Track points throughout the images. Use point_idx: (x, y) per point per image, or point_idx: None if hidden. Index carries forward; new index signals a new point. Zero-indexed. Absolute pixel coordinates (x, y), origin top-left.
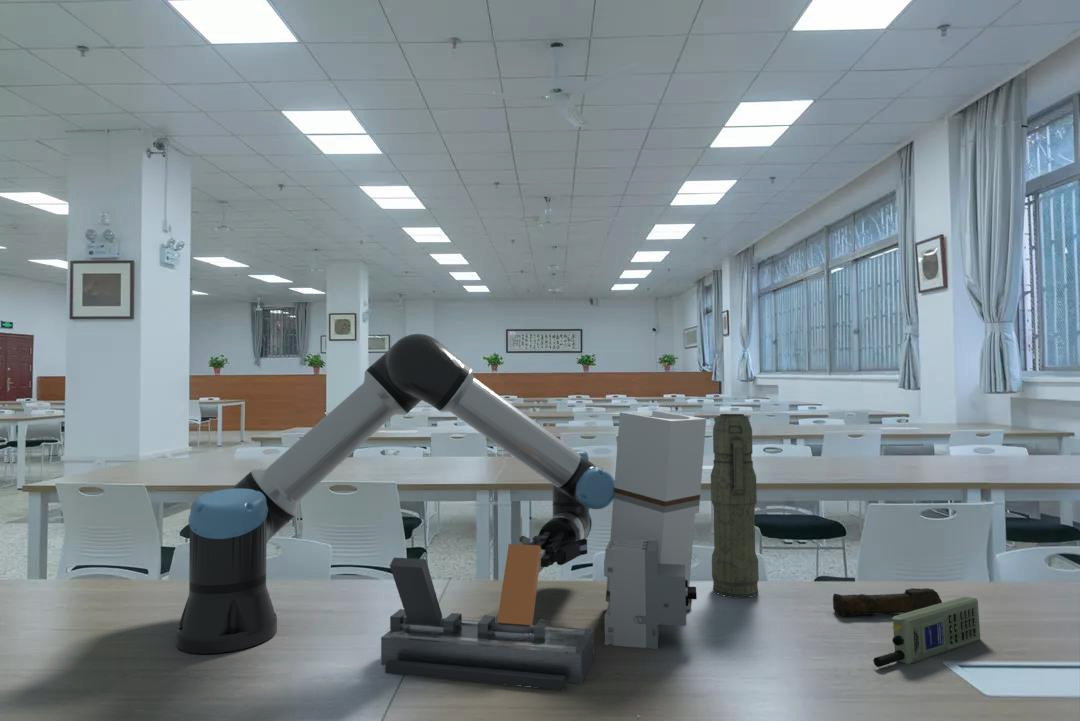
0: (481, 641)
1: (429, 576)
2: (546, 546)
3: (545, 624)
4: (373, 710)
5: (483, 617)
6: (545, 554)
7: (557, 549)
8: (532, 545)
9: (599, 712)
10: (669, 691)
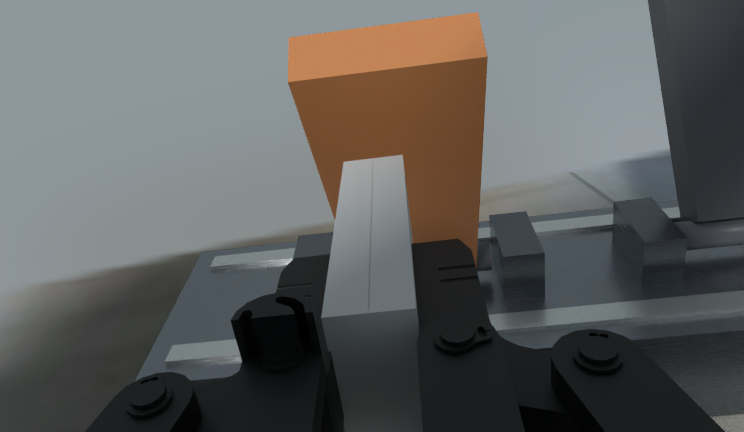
0: (489, 227)
1: (663, 13)
2: (300, 297)
3: (300, 253)
4: (595, 169)
5: (537, 240)
6: (320, 336)
7: (184, 402)
8: (330, 34)
9: (194, 251)
10: (13, 338)
